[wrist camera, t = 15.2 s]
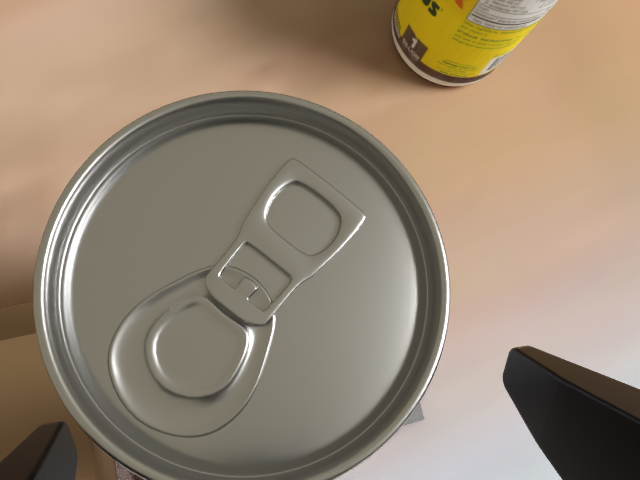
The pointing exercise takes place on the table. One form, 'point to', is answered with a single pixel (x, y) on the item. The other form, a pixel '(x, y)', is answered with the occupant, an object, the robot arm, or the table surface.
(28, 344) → the puzzle board
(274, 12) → the table surface
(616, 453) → the robot arm
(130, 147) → the can
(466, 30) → the supplement bottle
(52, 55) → the table surface
